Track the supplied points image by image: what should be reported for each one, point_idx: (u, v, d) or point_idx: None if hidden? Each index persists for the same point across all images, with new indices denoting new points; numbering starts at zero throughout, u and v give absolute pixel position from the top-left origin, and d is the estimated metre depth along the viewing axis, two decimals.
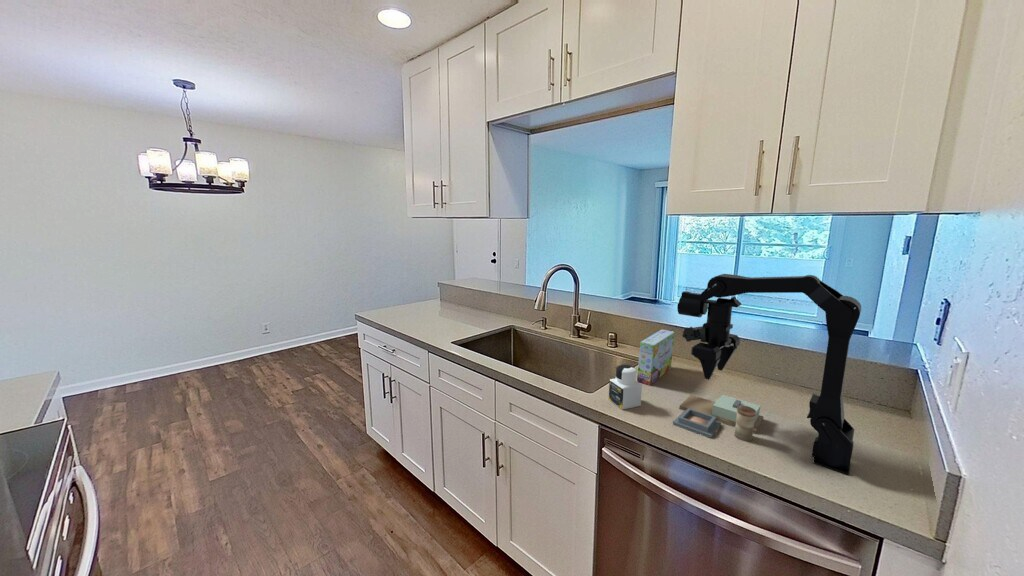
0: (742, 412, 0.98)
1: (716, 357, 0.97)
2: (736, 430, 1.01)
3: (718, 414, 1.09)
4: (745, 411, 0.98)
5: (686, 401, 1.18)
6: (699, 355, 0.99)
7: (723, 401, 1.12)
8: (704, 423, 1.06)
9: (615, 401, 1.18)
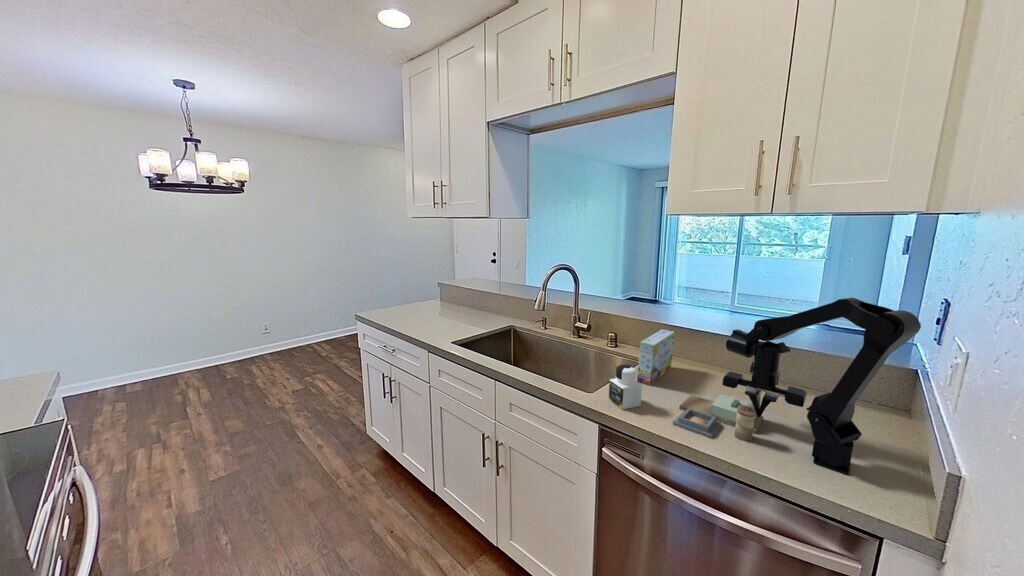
0: (742, 412, 0.98)
1: (725, 384, 1.08)
2: (736, 430, 1.01)
3: (716, 414, 1.09)
4: (745, 411, 0.98)
5: (686, 401, 1.18)
6: None
7: (722, 400, 1.12)
8: (704, 423, 1.06)
9: (615, 401, 1.18)
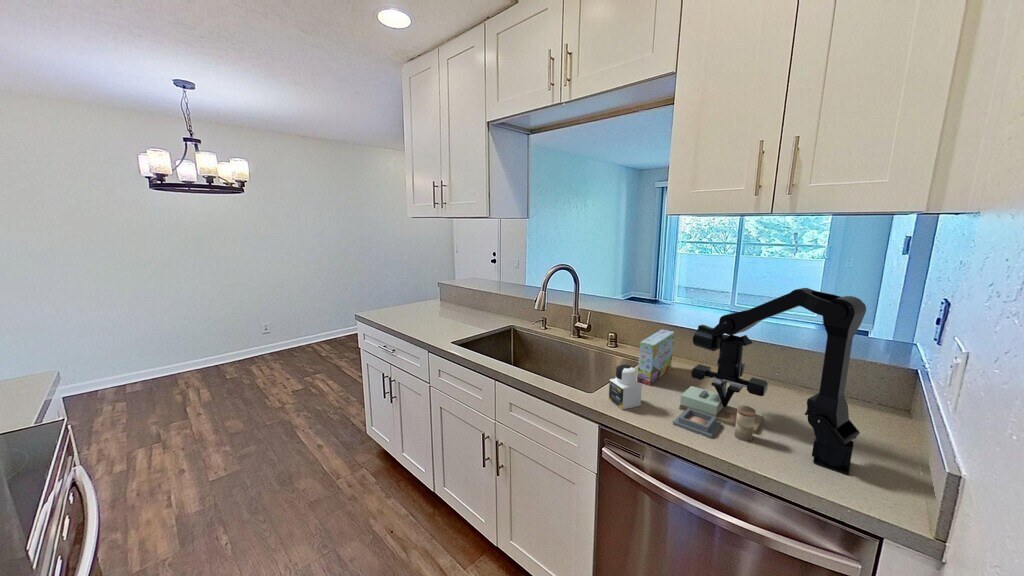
0: (742, 412, 0.98)
1: (694, 376, 1.13)
2: (736, 430, 1.01)
3: (685, 404, 1.15)
4: (745, 411, 0.98)
5: None
6: None
7: (691, 391, 1.18)
8: (704, 423, 1.06)
9: (615, 401, 1.18)
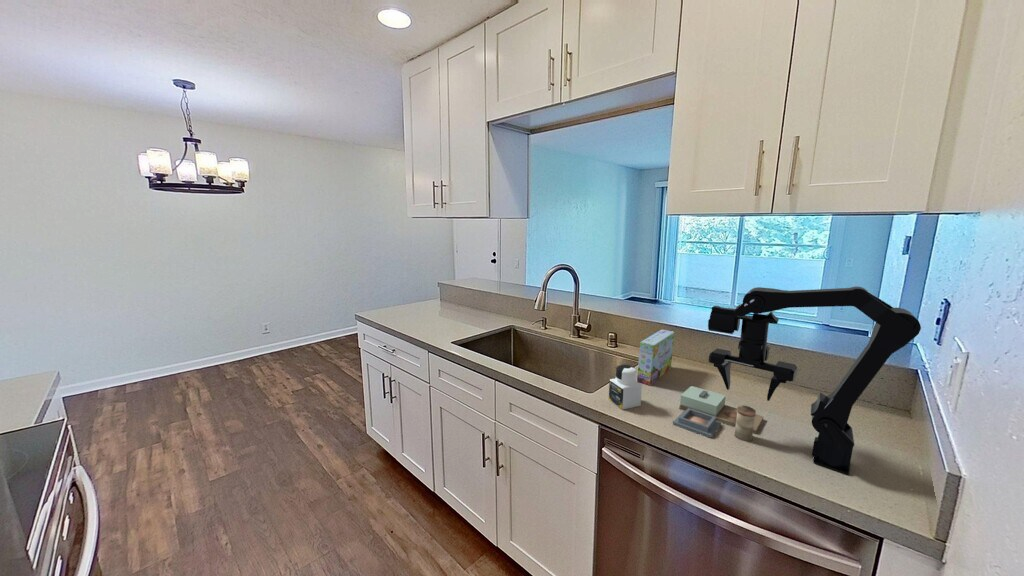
0: (742, 412, 0.98)
1: (712, 361, 1.01)
2: (736, 430, 1.01)
3: (685, 404, 1.15)
4: (745, 411, 0.98)
5: None
6: None
7: (691, 391, 1.18)
8: (704, 423, 1.06)
9: (615, 401, 1.18)
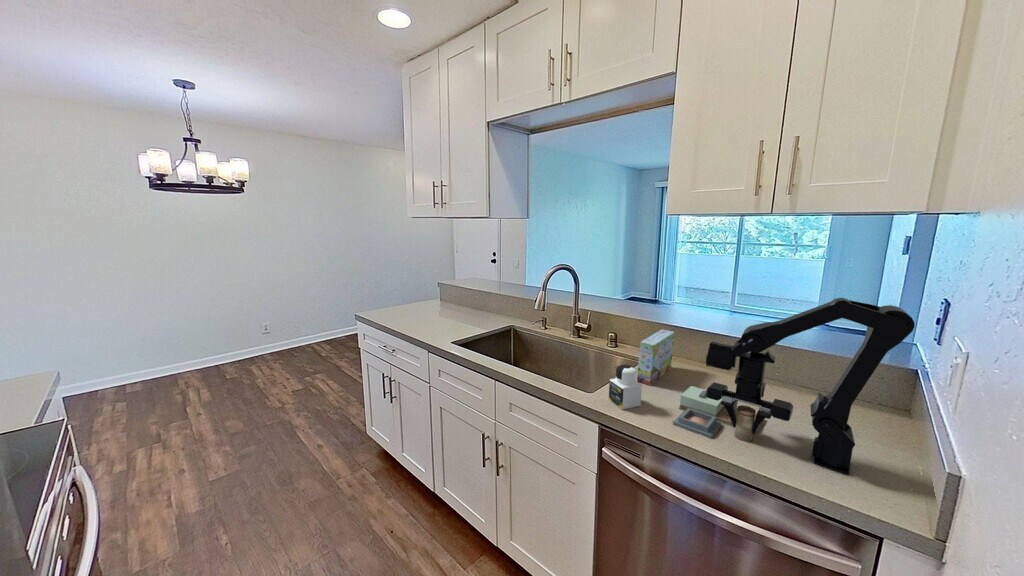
0: (742, 412, 0.98)
1: (709, 396, 1.02)
2: (736, 430, 1.01)
3: (685, 404, 1.15)
4: (745, 411, 0.98)
5: None
6: None
7: (691, 391, 1.18)
8: (704, 423, 1.06)
9: (615, 401, 1.18)
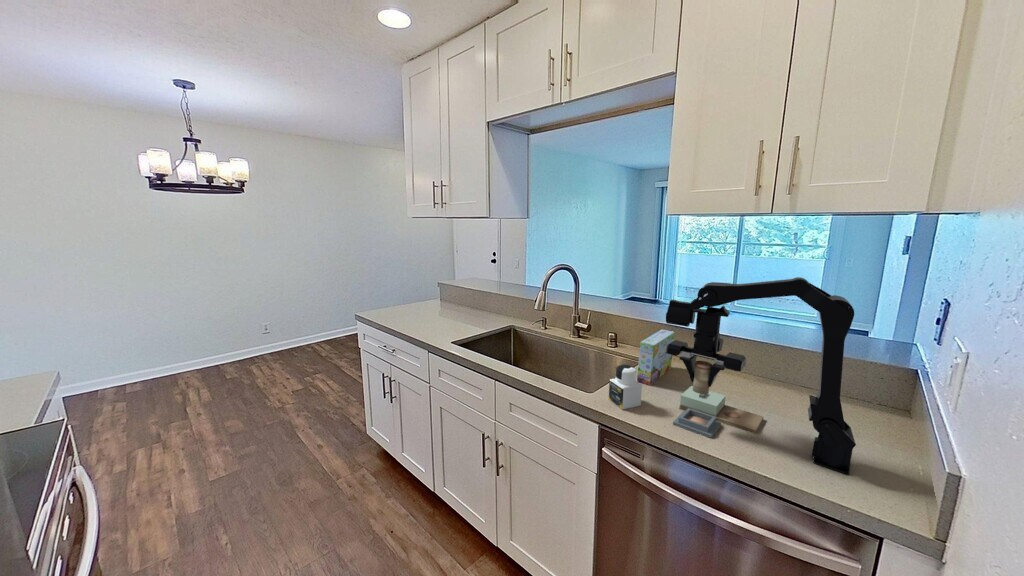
0: (699, 366, 1.02)
1: (669, 352, 1.06)
2: (693, 384, 1.05)
3: (685, 404, 1.15)
4: (702, 365, 1.02)
5: None
6: None
7: (691, 391, 1.18)
8: (704, 423, 1.06)
9: (615, 401, 1.18)
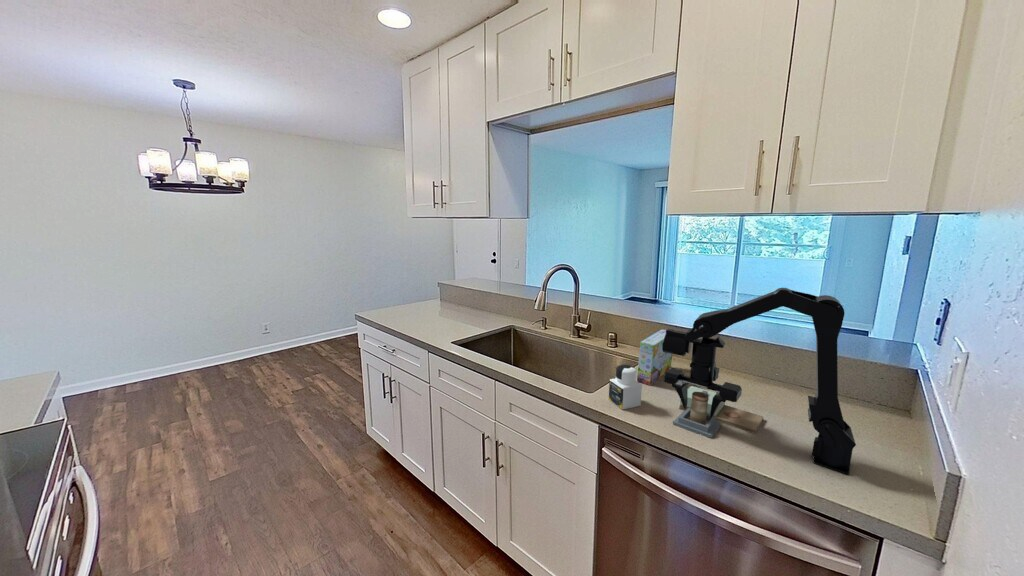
0: (696, 397, 1.04)
1: (666, 380, 1.08)
2: (690, 415, 1.06)
3: None
4: (699, 396, 1.04)
5: None
6: None
7: (691, 391, 1.18)
8: None
9: (615, 401, 1.18)
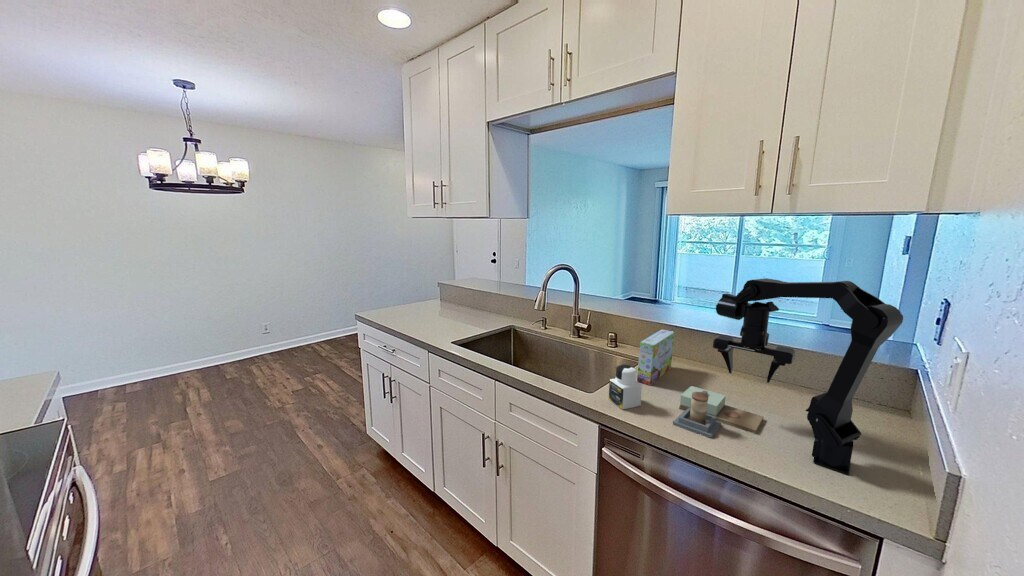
0: (695, 397, 1.04)
1: (716, 346, 1.09)
2: (690, 415, 1.06)
3: (685, 404, 1.15)
4: (698, 396, 1.04)
5: None
6: None
7: (691, 391, 1.18)
8: None
9: (615, 401, 1.18)
